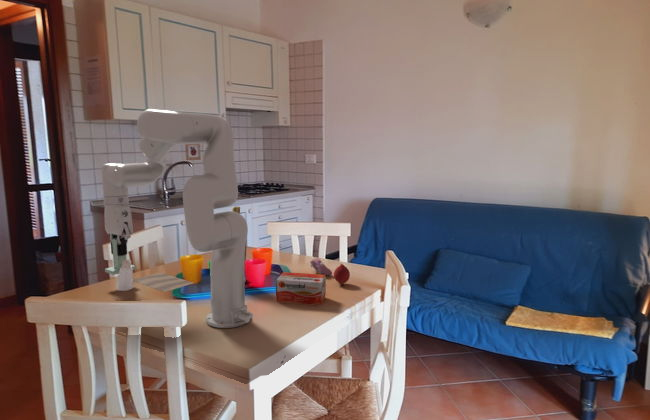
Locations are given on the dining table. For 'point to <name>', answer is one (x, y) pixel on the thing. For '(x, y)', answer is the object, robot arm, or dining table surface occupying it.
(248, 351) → the dining table surface
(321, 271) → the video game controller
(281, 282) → the medicine box
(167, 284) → the board
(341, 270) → the onion
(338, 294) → the dining table surface
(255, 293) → the dining table surface
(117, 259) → the mint t-shaped block
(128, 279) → the pepper shaker
